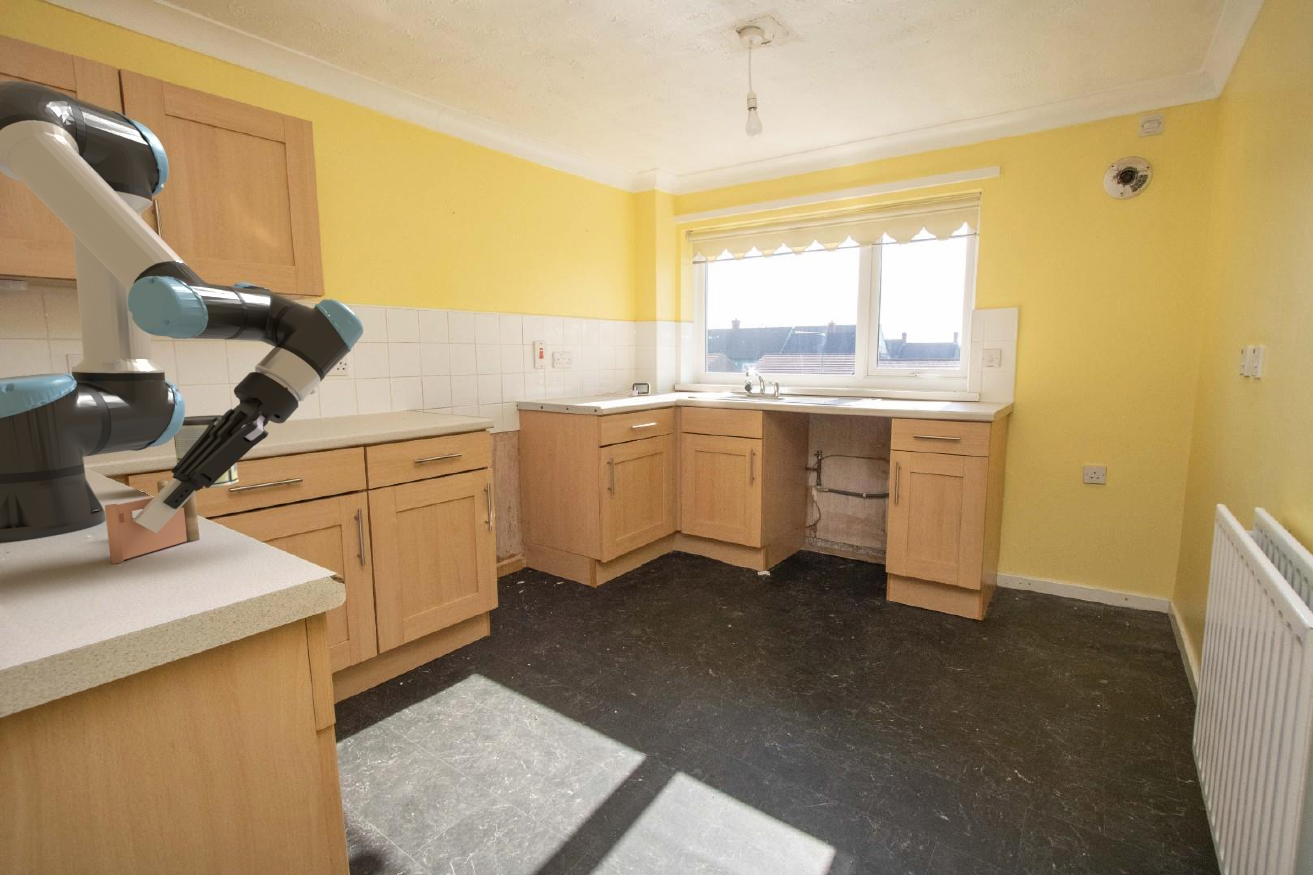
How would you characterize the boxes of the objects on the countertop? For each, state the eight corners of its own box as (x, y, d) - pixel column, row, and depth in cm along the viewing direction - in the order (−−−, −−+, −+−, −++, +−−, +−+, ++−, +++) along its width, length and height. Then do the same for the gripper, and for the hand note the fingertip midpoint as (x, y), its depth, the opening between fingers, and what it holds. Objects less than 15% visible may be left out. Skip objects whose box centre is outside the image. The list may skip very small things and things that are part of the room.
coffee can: (171, 485, 129) (165, 417, 127) (229, 478, 137) (223, 414, 135) (186, 491, 123) (179, 420, 121) (246, 483, 130) (240, 416, 129)
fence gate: (180, 541, 84) (175, 490, 84) (187, 542, 84) (182, 490, 83) (108, 563, 75) (101, 505, 75) (116, 563, 75) (109, 506, 74)
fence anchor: (159, 532, 91) (153, 481, 90) (172, 529, 92) (167, 480, 91) (187, 544, 84) (182, 490, 83) (201, 542, 86) (196, 488, 85)
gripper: (320, 406, 88) (191, 551, 76) (277, 403, 95) (154, 534, 84) (276, 369, 83) (132, 517, 71) (235, 369, 90) (98, 503, 79)
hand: (144, 526), depth 77 cm, fingers closed
